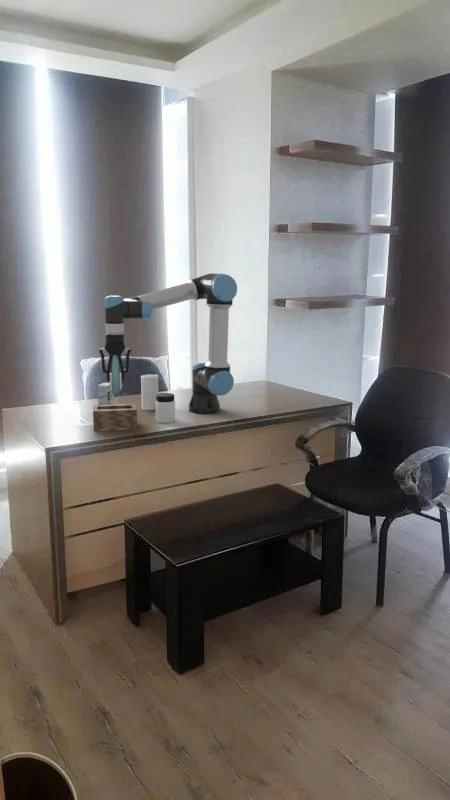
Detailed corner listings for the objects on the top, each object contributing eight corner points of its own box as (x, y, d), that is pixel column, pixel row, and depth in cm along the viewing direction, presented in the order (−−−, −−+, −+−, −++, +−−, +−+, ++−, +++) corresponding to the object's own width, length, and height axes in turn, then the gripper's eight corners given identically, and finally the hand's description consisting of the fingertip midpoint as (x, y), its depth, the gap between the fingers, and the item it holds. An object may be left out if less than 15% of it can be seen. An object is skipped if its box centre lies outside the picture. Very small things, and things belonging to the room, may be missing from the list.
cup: (161, 407, 300) (161, 375, 297) (152, 410, 293) (152, 377, 290) (147, 405, 304) (146, 373, 300) (138, 409, 296) (137, 376, 293)
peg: (121, 392, 262) (120, 355, 258) (117, 394, 259) (116, 356, 255) (114, 392, 263) (113, 355, 260) (110, 393, 260) (109, 356, 256)
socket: (135, 422, 271) (135, 403, 270) (137, 429, 260) (136, 409, 258) (93, 423, 268) (93, 404, 266) (93, 431, 256) (93, 411, 254)
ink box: (107, 410, 294) (107, 385, 291) (98, 409, 294) (97, 385, 292) (114, 406, 302) (113, 382, 299) (105, 405, 303) (104, 382, 300)
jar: (166, 417, 281) (165, 391, 278) (178, 420, 276) (178, 394, 273) (151, 421, 274) (151, 394, 271) (164, 424, 269) (164, 397, 266)
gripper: (134, 332, 261) (134, 386, 266) (94, 332, 257) (96, 387, 262) (135, 334, 253) (135, 390, 258) (94, 334, 250) (96, 390, 255)
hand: (115, 388), depth 260 cm, fingers closed on peg, 3 cm apart
